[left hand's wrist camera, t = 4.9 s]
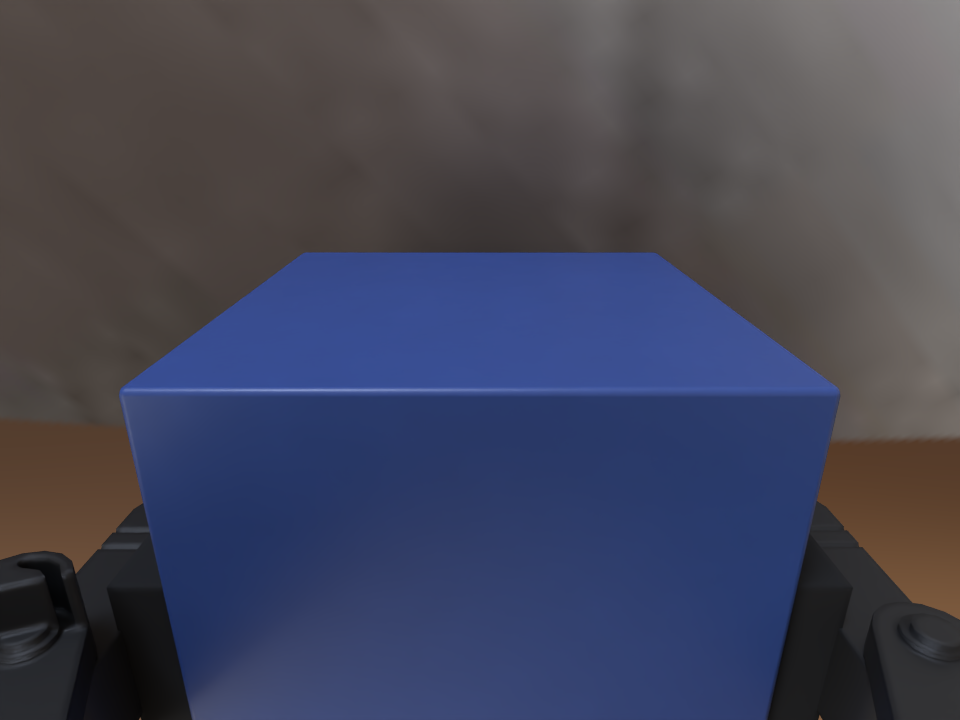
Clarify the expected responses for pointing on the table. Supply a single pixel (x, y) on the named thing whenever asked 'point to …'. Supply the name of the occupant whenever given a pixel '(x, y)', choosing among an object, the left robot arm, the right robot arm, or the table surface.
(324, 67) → the table surface
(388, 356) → the cube
